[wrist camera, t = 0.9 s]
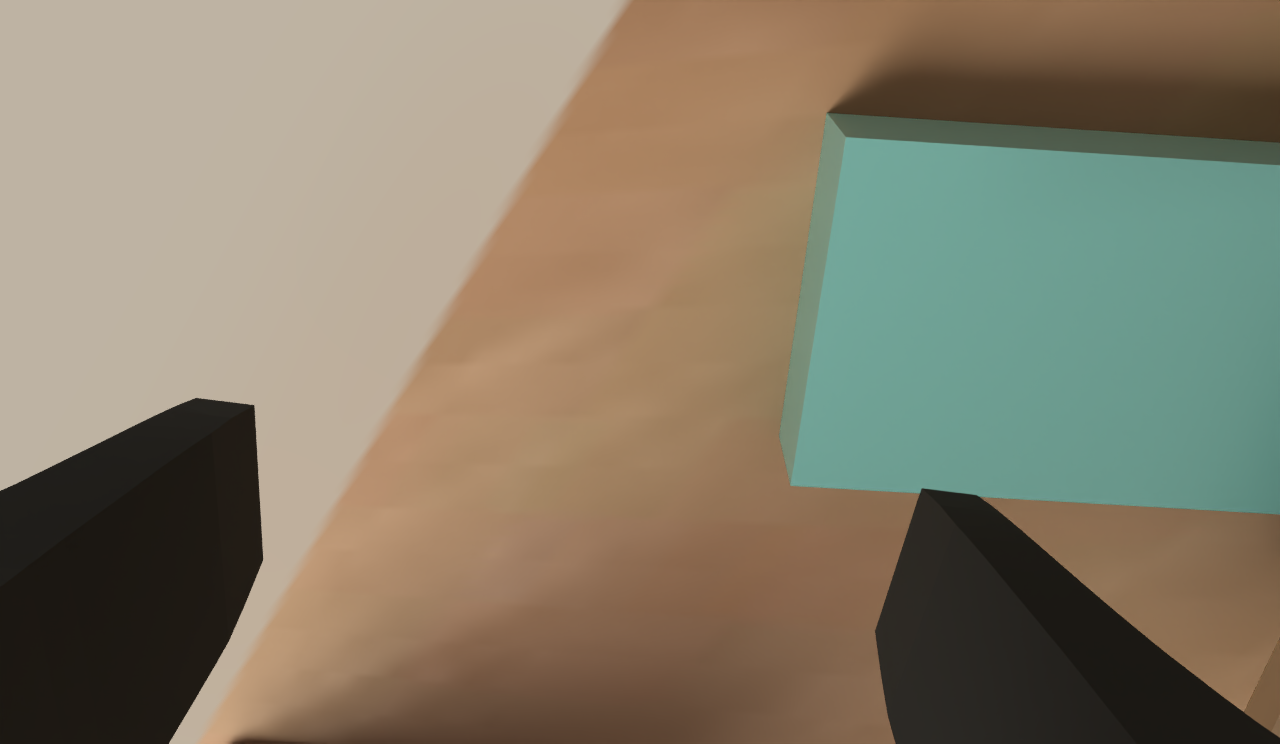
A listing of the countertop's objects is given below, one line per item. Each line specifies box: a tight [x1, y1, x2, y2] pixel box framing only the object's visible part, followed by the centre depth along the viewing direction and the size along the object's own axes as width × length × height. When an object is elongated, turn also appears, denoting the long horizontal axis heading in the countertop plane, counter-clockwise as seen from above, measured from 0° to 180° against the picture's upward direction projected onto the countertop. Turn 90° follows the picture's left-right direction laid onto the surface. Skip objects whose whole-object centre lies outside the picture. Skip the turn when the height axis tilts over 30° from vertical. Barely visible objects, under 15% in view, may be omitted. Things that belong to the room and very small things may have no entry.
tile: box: [779, 113, 1280, 514], centre depth 19 cm, size 10×7×2 cm
